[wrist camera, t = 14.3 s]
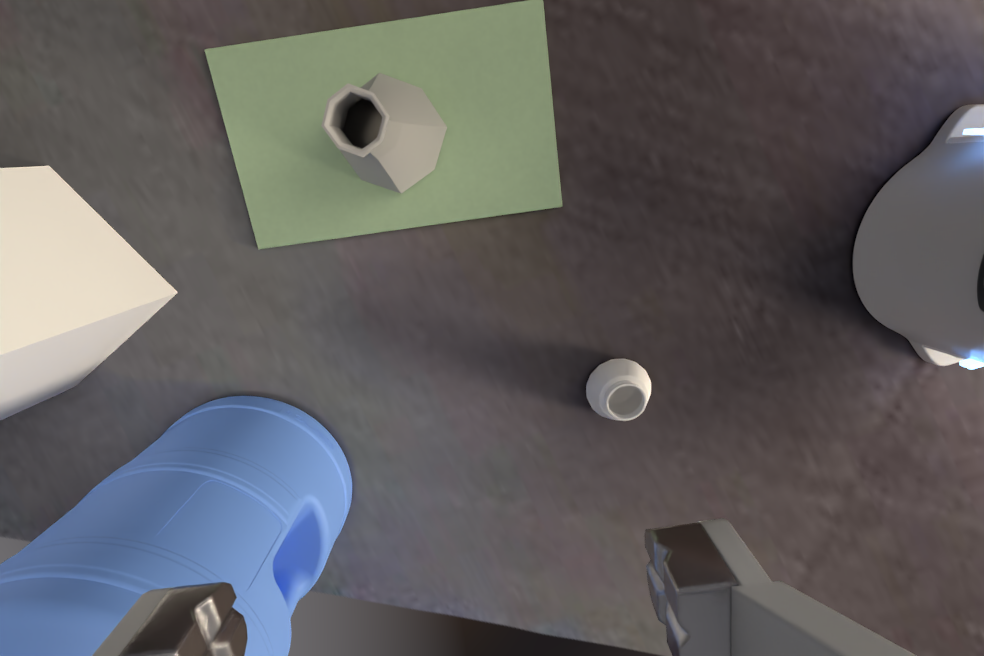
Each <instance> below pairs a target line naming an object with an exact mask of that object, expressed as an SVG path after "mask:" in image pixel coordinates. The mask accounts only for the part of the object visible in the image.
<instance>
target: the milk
mask: <svg viewBox="0 0 984 656" xmlns="http://www.w3.org/2000/svg"><path fill="white" fill-rule="evenodd" d="M177 293H178V292H177V291H176V290H175V289H174V288H173V287H172V286H171V285H170V284H169V283H168V282H167V281H166V280H165V279H164V278H163V277H162V276H161V275H160V274H159V273H158V272H157V271H156V270H155V269H154V268H153V267H152V266H150V265H149V264H148V263H147V262H146V261H145V260H144V259H143V258H142V257H141V256H140V255H139V254H138V253H137V252H136V251H135V250H134V249H133V248H132V247H131V246H130V245H129V244H128V243H127V242H126V241H125V240H124V239H123V238H122V237H121V236H120V235H119V234H118V233H117V232H116V231H115V230H114V229H113V228H112V227H111V226H110V225H109V224H108V223H107V222H106V221H105V220H104V219H103V218H102V217H101V216H100V215H99V214H98V213H97V212H96V211H95V210H94V209H93V208H92V207H91V206H90V205H88V204H87V203H86V202H85V201H84V200H83V199H82V198H81V197H80V196H79V195H78V194H77V193H76V192H75V191H74V190H73V189H72V188H71V187H70V186H69V185H68V184H67V183H66V182H65V181H64V180H63V179H62V178H61V177H60V176H59V175H58V174H57V173H56V172H55V171H54V170H53V169H52V168H51V167H50V166H36V167H14V168H0V421H1V420H3V419H5V418H7V417H9V416H12V415H14V414H16V413H18V412H20V411H23V410H25V409H27V408H29V407H31V406H34V405H36V404H38V403H40V402H43V401H45V400H47V399H49V398H51V397H54V396H56V395H58V394H60V393H62V392H65V391H67V390H69V389H71V388H73V387H75V386H77V385H78V384H79V383H80V382H81V381H82V380H83V379H84V378H85V377H86V376H87V375H89V374H90V373H91V372H92V371H93V370H94V369H95V368H96V367H97V366H98V365H99V364H101V363H102V362H103V361H104V360H105V359H106V358H107V357H108V356H109V355H110V354H111V353H113V352H114V351H115V350H116V349H117V348H118V347H119V346H120V345H121V344H122V343H123V342H125V341H126V340H127V339H128V338H129V337H130V336H131V335H132V334H133V333H134V332H136V331H137V330H138V329H139V328H140V327H141V326H142V325H143V324H144V323H145V322H146V321H148V320H149V319H150V318H151V317H152V316H153V315H154V314H155V313H156V312H157V311H158V310H160V309H161V308H162V307H163V306H164V305H165V304H166V303H167V302H168V301H169V300H170V299H172V298H173V297H174V296H175V295H176V294H177Z"/></svg>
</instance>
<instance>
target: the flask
mask: <svg viewBox="0 0 984 656" xmlns="http://www.w3.org/2000/svg"><path fill="white" fill-rule="evenodd" d="M321 126H322V127H323V129H324V130H325V131H326V133H327V134H328V136H329V137H330V138H331V140H332V141H333V142H334V144H335V145H336V147H337V148H338V149H339V150H340V151H341V153H342V154H343V155H344V157H345V158H346V160H347V161H348V162H349V164H350V165H351V166H352V168H353V169H354V171H355V172H356V173H357V175H358V176H359V178H360V179H361V180H363V181H366V182H369V183H372V184H375V185H378V186H380V187H383V188H386V189H389V190H392V191H395V192H398V193H401V194H402V193H403V192H404V191H406V190H407V189H408V188H410V187H411V186H413V185H414V184H415V183H417V182H418V181H419V180H421V179H422V178H424V177H425V176H426V175H428V174H429V173H431V172H432V171H433V170H435V167H436V163H437V160H438V157H439V153H440V150H441V146H442V143H443V140H444V136H445V133H446V130H447V126H446V124H445V123H444V121H443V120H442V118H441V117H440V115H439V114H438V112H437V111H436V109H435V108H434V106H433V105H432V103H431V102H430V100H429V99H428V97H427V96H426V94H425V93H424V91H423V90H422V88H419V87H417V86H414V85H411V84H409V83H406V82H403V81H400V80H398V79H395V78H392V77H390V76H387V75H384V74H382V73H378V74H377V75H376V76H375V77H373V78H372V79H371V80H369V81H368V82H367V83H366V84H364V85H363V86H362V87H361V88H359V87H357V86H354V85H351V84H349V83H348V84H346V85H345V86H344V87H343V88H341V89H340V90H339V91H337V92H336V93H335V94H334V95H332V96H331V97H330V98H329V99H327V104H326V108H325V112H324V117H323V121H322V125H321Z"/></svg>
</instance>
